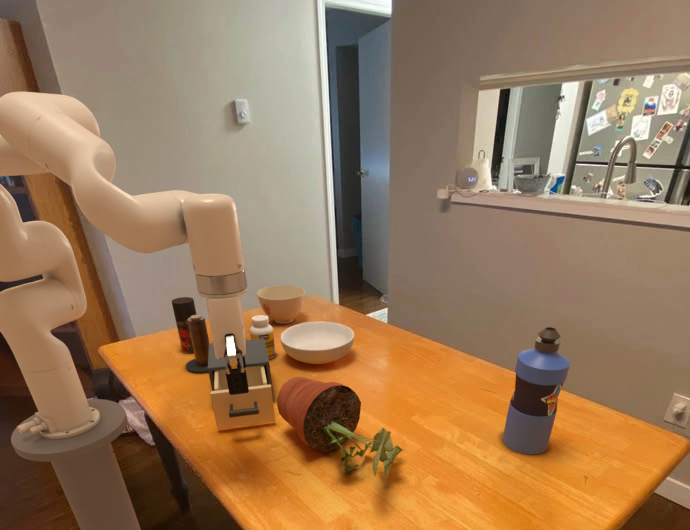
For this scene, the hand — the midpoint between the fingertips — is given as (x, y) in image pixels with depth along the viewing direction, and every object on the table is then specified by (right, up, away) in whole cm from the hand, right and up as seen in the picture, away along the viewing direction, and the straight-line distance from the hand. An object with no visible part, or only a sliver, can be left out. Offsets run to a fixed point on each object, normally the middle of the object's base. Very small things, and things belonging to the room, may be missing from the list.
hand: (238, 380), depth 81 cm
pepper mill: (-22, +8, +47) cm, 53 cm away
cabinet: (-8, 0, +35) cm, 36 cm away
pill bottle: (-6, +11, +53) cm, 55 cm away
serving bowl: (+9, +11, +53) cm, 55 cm away
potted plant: (+19, -15, +12) cm, 27 cm away
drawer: (-5, -6, +24) cm, 25 cm away
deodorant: (-29, +13, +57) cm, 65 cm away
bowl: (-5, +27, +78) cm, 83 cm away
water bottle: (+56, -12, +16) cm, 60 cm away
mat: (-22, +8, +48) cm, 53 cm away
